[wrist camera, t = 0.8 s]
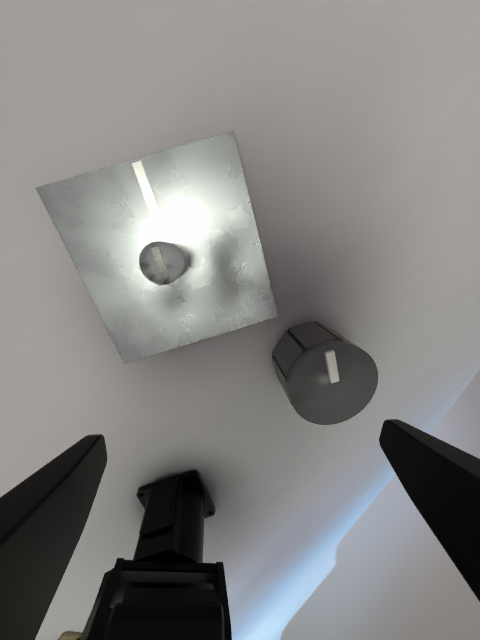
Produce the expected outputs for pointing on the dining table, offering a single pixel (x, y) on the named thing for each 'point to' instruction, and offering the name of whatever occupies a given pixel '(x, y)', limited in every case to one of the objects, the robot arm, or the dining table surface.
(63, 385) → the dining table surface
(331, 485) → the dining table surface
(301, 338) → the knob
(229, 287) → the mounting plate
